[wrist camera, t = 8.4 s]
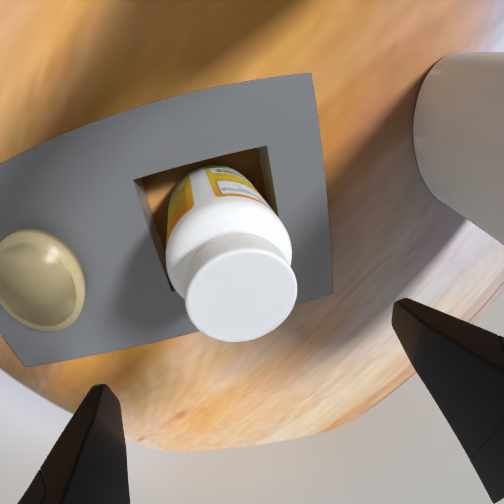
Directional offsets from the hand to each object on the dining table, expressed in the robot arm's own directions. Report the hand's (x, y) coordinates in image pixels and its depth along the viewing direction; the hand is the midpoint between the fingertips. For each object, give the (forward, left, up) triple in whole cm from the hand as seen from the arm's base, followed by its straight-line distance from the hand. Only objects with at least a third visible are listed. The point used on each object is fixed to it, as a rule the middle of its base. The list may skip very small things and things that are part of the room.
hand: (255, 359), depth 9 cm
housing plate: (+5, 0, -12) cm, 13 cm away
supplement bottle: (0, 0, -12) cm, 13 cm away
